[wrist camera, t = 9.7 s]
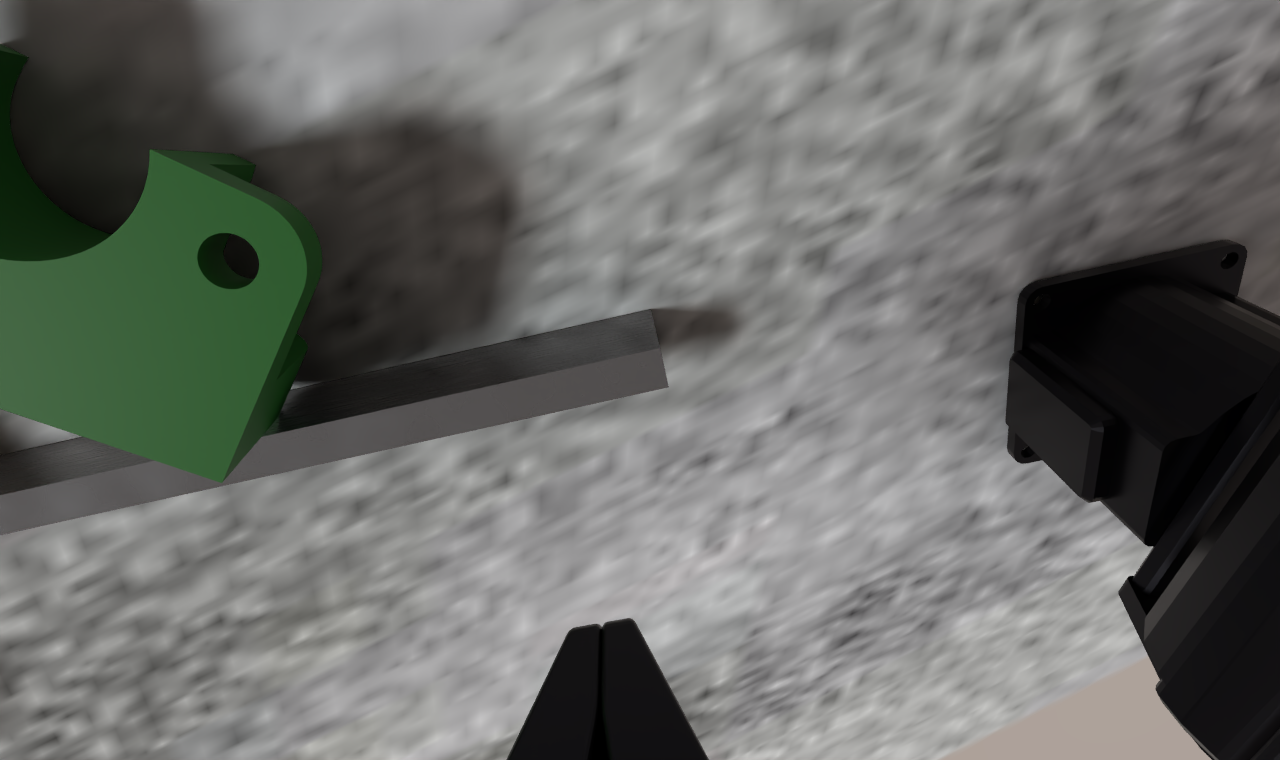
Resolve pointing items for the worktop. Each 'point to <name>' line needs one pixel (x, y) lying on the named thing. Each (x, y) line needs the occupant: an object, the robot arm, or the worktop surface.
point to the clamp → (152, 308)
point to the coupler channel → (355, 418)
